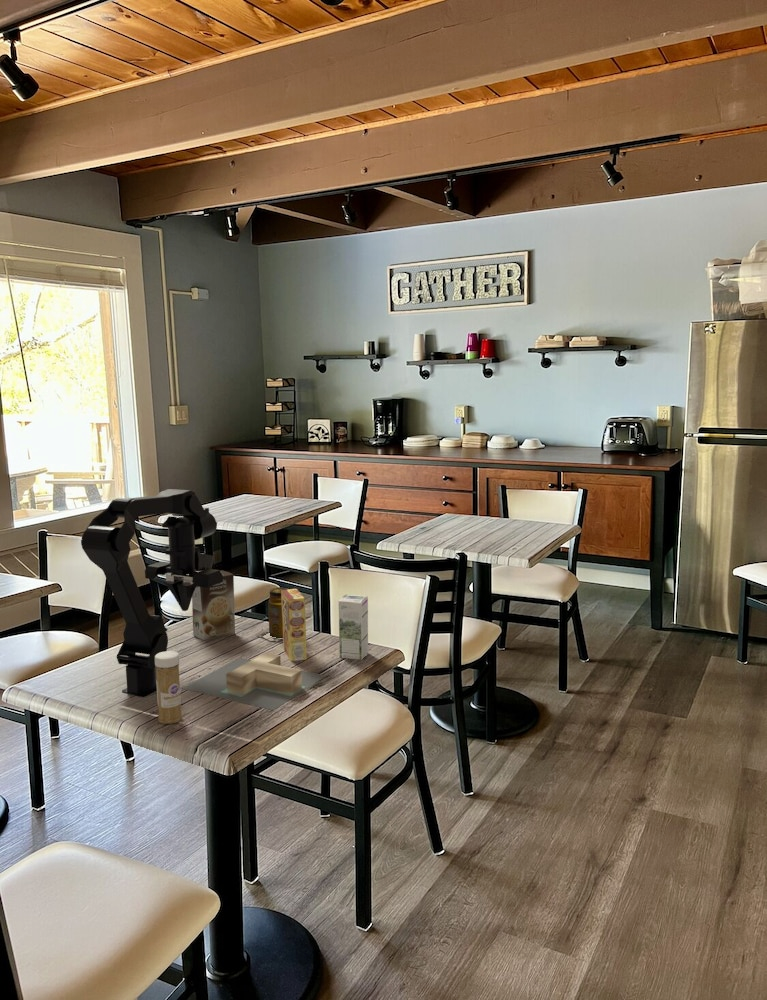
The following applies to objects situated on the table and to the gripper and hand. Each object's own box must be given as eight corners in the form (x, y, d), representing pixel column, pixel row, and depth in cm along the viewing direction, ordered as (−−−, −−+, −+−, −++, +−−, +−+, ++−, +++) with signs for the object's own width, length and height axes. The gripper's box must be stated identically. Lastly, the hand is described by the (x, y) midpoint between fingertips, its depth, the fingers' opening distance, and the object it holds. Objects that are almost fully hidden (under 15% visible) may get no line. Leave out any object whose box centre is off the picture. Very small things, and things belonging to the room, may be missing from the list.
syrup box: (369, 653, 187) (368, 594, 185) (361, 661, 182) (361, 602, 179) (346, 650, 189) (345, 593, 187) (338, 659, 183) (337, 600, 181)
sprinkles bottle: (170, 726, 149) (167, 660, 147) (153, 721, 151) (149, 656, 149) (187, 717, 153) (183, 652, 151) (170, 712, 155) (166, 648, 153)
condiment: (299, 635, 201) (298, 590, 199) (272, 643, 195) (271, 596, 193) (282, 628, 206) (281, 584, 204) (256, 636, 200) (254, 591, 198)
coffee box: (203, 641, 196) (200, 580, 193) (192, 635, 201) (189, 574, 198) (236, 634, 202) (234, 574, 199) (224, 627, 206) (222, 569, 204)
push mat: (273, 712, 155) (273, 710, 155) (181, 689, 166) (181, 688, 166) (326, 677, 173) (326, 675, 173) (240, 659, 184) (240, 657, 184)
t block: (277, 703, 158) (277, 685, 158) (226, 692, 164) (226, 674, 163) (314, 679, 170) (314, 662, 170) (266, 669, 176) (265, 652, 176)
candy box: (307, 660, 183) (306, 597, 180) (289, 663, 181) (288, 599, 179) (299, 648, 191) (297, 587, 188) (282, 650, 190) (280, 589, 187)
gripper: (237, 541, 179) (239, 606, 181) (175, 533, 188) (178, 596, 190) (204, 551, 169) (207, 620, 172) (141, 542, 178) (145, 608, 180)
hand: (185, 610), depth 179 cm, fingers closed
